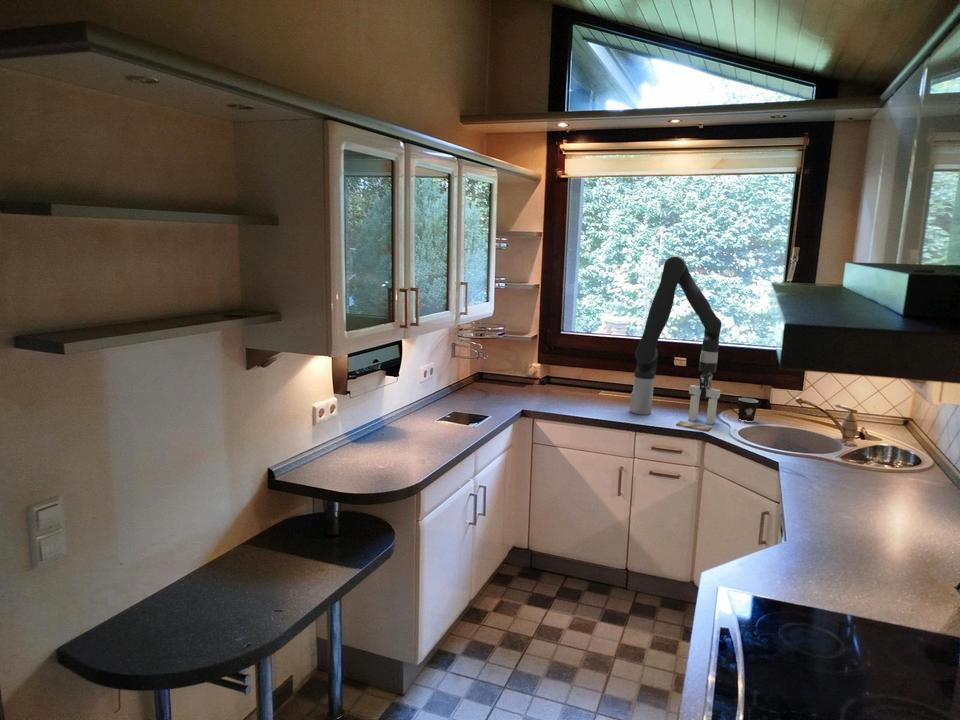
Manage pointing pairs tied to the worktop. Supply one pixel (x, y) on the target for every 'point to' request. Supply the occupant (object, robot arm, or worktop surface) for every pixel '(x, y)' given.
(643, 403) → the robot arm
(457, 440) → the worktop surface
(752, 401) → the coffee mug
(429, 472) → the worktop surface
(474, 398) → the worktop surface
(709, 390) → the rail
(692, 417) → the post
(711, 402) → the post
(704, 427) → the board
